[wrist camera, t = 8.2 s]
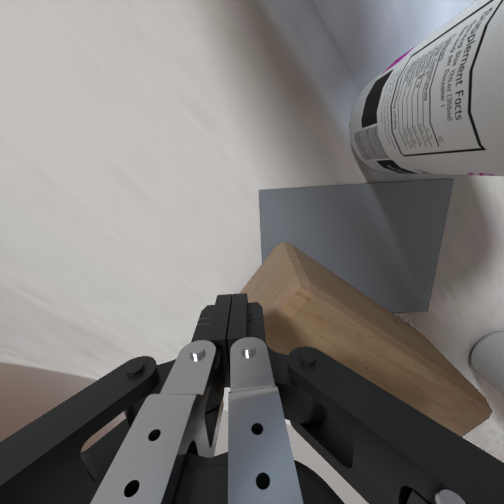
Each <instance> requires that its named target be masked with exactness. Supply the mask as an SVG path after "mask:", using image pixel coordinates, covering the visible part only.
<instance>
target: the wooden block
mask: <svg viewBox="0 0 504 504" xmlns="http://www.w3.org/2000/svg"><path fill="white" fill-rule="evenodd" d="M241 293H247V296H248V303H252V302H258V303H259V304H260V305H261V306H262V307H263V316H264V327H265V337H266V343H267V345H268V347H269V348H270V349H271V350H273V351H275V352H277V353H280V354H284V355H289V354H290V352H291V351H292V350H294V349H296V348H298V347H304V346H306V347H313V348H316V349H318V350H320V351H322V352H323V353H325V354H327V355H328V356H330V357H332V358H333V359H335V360H336V361H338V362H340V363H341V364H343V365H345V366H346V367H348V368H350V369H351V370H353V371H354V372H356V373H358V374H359V375H361V376H363V377H364V378H366V379H367V380H369V381H371V382H372V383H374V384H376V385H377V386H379V387H381V388H382V389H384V390H385V391H387V392H389V393H390V394H392V395H394V396H395V397H397V398H398V399H400V400H402V401H403V402H405V403H407V404H408V405H410V406H411V407H413V408H415V409H416V410H418V411H420V412H421V413H423V414H425V415H426V416H428V417H429V418H431V419H433V420H434V421H436V422H438V423H439V424H441V425H442V426H444V427H446V428H447V429H449V430H451V431H452V432H454V433H455V434H457V435H459V436H460V437H462V436H464V435H465V434H467V433H468V432H469V431H471V430H472V429H474V428H475V427H477V426H478V425H479V424H481V423H482V422H484V421H485V420H487V419H488V418H489V417H490V415H491V413H492V410H491V408H490V406H489V404H488V402H487V400H486V398H485V397H484V396H483V395H482V394H481V393H480V392H479V391H478V390H477V389H476V388H475V387H474V386H473V385H472V384H471V383H470V382H469V381H468V380H467V379H466V378H465V377H464V376H463V375H462V374H461V373H460V372H459V371H458V370H457V369H456V368H455V367H454V366H453V365H452V364H451V363H450V362H449V361H448V360H447V359H446V358H445V357H444V356H443V355H442V354H441V353H440V352H439V351H438V350H437V349H436V348H435V347H434V346H433V345H432V344H431V343H430V342H429V341H428V340H427V339H426V338H425V337H424V336H423V335H422V334H421V333H420V332H419V331H417V330H416V329H414V328H413V327H411V326H410V325H408V324H407V323H405V322H404V321H403V320H401V319H400V318H398V317H397V316H395V315H394V314H392V313H391V312H389V311H388V310H387V309H385V308H384V307H382V306H381V305H379V304H378V303H376V302H375V301H373V300H372V299H370V298H369V297H368V296H366V295H365V294H363V293H362V292H360V291H359V290H357V289H356V288H354V287H353V286H352V285H350V284H349V283H347V282H346V281H344V280H343V279H341V278H340V277H338V276H337V275H336V274H334V273H333V272H331V271H330V270H328V269H327V268H325V267H324V266H322V265H321V264H319V263H318V262H317V261H315V260H314V259H312V258H311V257H309V256H308V255H306V254H305V253H303V252H302V251H301V250H299V249H298V248H296V247H295V246H293V245H292V244H289V243H285V242H282V243H280V244H279V245H277V246H276V247H275V248H274V249H273V251H272V252H271V253H270V255H269V256H268V257H267V259H266V260H265V261H264V262H263V264H262V265H261V266H260V268H259V269H258V270H257V272H256V273H255V274H254V275H253V277H252V278H251V279H250V281H249V282H248V283H247V285H246V286H245V287H244V288H243V290H242V291H241V292H240V294H241ZM229 388H230V387H229Z"/></svg>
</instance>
